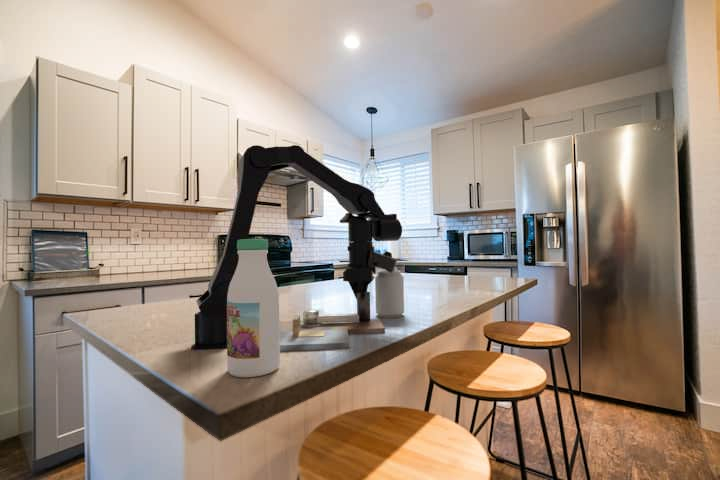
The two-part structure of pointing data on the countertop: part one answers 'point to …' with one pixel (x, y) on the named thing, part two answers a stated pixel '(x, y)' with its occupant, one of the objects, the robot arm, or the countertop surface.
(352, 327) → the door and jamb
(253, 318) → the milk bottle
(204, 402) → the countertop surface
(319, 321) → the lock bar
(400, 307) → the can
